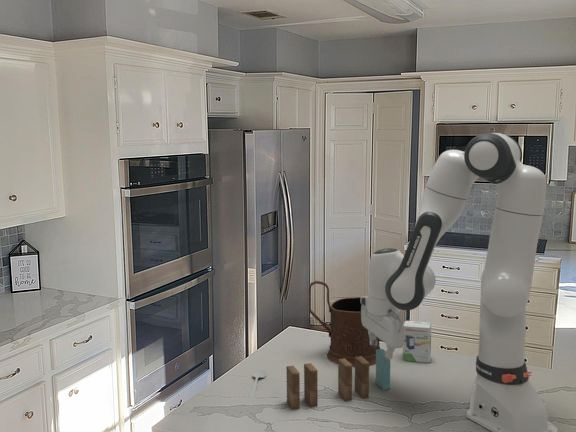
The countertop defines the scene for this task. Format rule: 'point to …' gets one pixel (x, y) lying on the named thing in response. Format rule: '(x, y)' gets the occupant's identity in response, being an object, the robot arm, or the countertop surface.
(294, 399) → the domino
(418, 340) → the ink box
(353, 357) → the brown pitcher
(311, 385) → the domino
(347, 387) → the domino
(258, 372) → the spoon
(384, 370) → the domino
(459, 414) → the countertop surface
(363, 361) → the domino
